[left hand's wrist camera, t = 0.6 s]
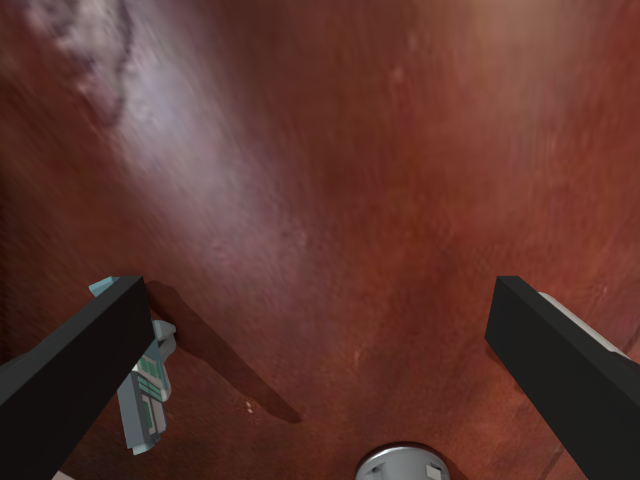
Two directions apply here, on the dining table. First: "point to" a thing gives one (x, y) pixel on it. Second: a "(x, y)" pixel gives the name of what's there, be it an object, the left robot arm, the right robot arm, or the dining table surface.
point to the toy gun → (145, 386)
